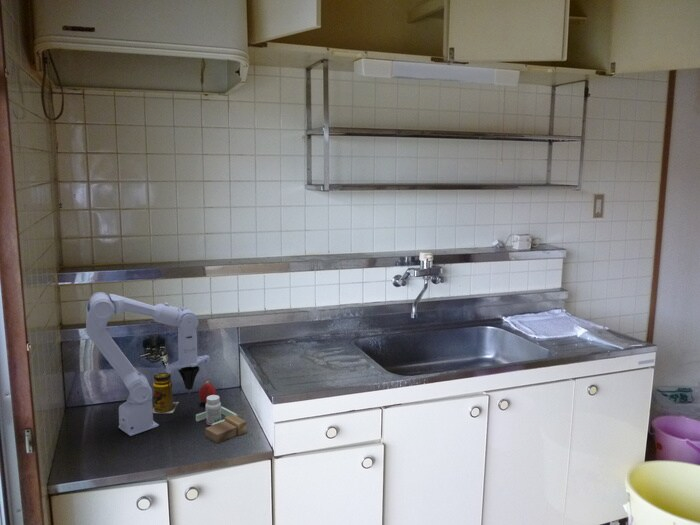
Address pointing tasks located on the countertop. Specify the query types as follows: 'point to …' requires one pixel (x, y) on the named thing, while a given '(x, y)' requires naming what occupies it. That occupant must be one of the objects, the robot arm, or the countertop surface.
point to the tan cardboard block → (220, 431)
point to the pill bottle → (213, 409)
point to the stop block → (237, 423)
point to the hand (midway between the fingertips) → (188, 388)
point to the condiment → (163, 394)
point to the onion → (206, 391)
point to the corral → (223, 411)
